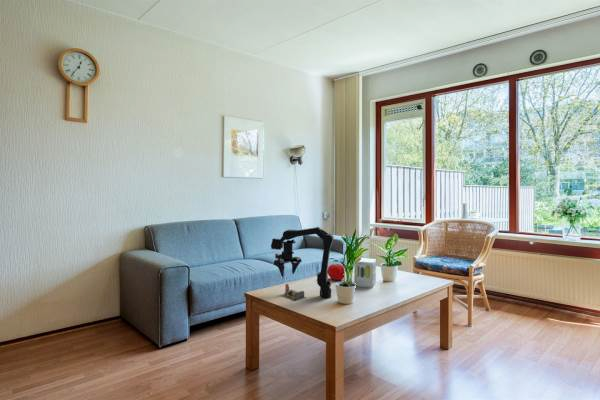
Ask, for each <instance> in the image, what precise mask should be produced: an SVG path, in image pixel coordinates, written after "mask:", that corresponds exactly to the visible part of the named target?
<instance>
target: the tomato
mask: <svg viewBox="0 0 600 400" xmlns="http://www.w3.org/2000/svg"><path fill="white" fill-rule="evenodd" d="M343 267H344V266H343V265H342V264H339V263H336V264H333V263H332V264H330V265H328V268H327V274H328V276H329V277H328V278H330V279H332V280H334V281H341V280H343V279H344V278H345V276H344V275H343V274H344V268H345V267H344V268H343Z"/></svg>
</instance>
